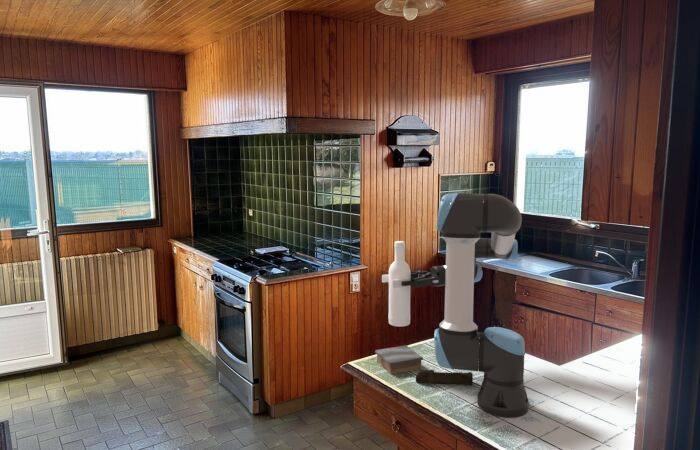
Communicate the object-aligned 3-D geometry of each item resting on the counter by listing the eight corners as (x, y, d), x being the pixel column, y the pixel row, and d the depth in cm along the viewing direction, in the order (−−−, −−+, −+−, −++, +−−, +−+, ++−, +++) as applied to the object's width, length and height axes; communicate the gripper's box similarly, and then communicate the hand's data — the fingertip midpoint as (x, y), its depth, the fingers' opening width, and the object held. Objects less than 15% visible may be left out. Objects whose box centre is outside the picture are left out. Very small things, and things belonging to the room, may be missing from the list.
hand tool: (471, 381, 173) (471, 368, 172) (473, 386, 169) (473, 373, 168) (415, 379, 174) (415, 366, 174) (416, 384, 170) (416, 371, 170)
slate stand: (422, 369, 182) (423, 357, 181) (390, 375, 177) (390, 363, 177) (406, 356, 194) (406, 345, 193) (375, 361, 189) (375, 350, 189)
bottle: (383, 323, 184) (383, 241, 180) (398, 318, 189) (399, 239, 185) (400, 328, 178) (400, 244, 174) (414, 323, 183) (415, 241, 179)
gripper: (458, 292, 179) (400, 299, 171) (429, 279, 198) (375, 285, 190) (458, 271, 178) (400, 277, 170) (429, 260, 197) (375, 265, 189)
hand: (387, 281), depth 180 cm, fingers closed on bottle, 8 cm apart
